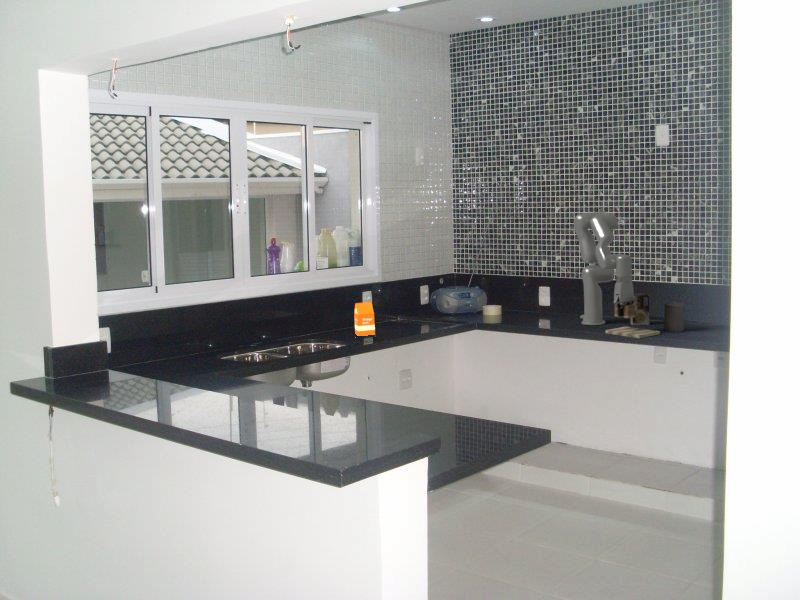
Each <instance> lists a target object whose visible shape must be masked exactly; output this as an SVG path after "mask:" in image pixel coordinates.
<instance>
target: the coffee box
mask: <svg viewBox="0 0 800 600" xmlns="http://www.w3.org/2000/svg"><path fill="white" fill-rule="evenodd" d="M634 298H635V301H634V302H633V305H635V317H632V318H630V324H631V326H648V325H649V326H650V295H649V293H647V292H646V293H634Z"/></svg>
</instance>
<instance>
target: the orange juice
mask: <svg viewBox="0 0 800 600" xmlns="http://www.w3.org/2000/svg"><path fill="white" fill-rule="evenodd" d="M354 304H355V305H354V313H353V314H354V315H353V316H354V332H355V333H354V334H356V335H357V336H368V335H375V336H376V327H375V326H376V325H375V312H374V308H373V303H372V301H368V302H367V301H366V302H356V303H354Z"/></svg>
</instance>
